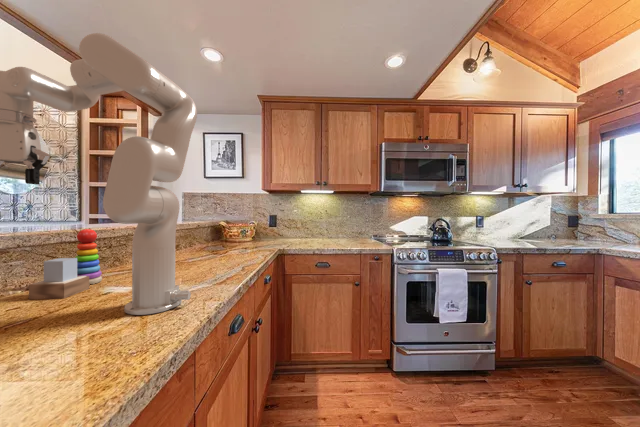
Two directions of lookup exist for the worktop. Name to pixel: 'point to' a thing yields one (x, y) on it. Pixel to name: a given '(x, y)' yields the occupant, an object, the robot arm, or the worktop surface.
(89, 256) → the stacking toy
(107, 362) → the worktop surface
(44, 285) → the walnut tray
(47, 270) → the grey block
